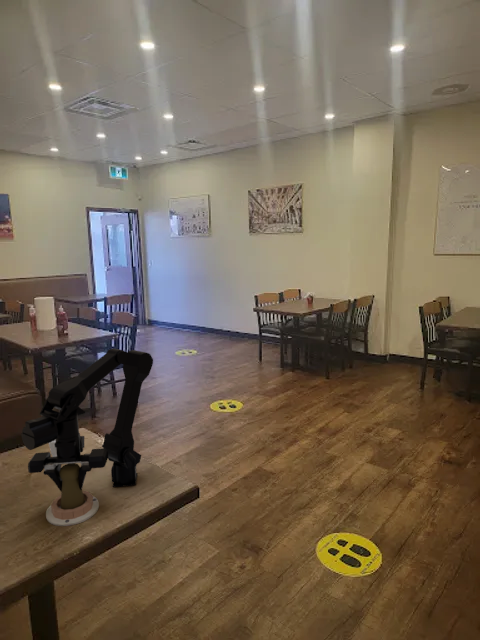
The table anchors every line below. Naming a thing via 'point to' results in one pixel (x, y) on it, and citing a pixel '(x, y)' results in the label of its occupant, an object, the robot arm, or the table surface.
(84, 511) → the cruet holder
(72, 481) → the brown peg
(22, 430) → the robot arm
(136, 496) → the table surface
